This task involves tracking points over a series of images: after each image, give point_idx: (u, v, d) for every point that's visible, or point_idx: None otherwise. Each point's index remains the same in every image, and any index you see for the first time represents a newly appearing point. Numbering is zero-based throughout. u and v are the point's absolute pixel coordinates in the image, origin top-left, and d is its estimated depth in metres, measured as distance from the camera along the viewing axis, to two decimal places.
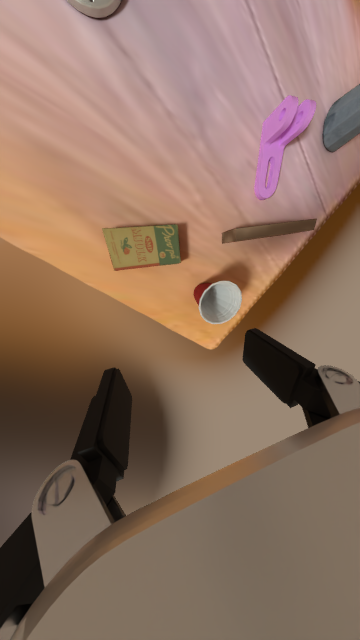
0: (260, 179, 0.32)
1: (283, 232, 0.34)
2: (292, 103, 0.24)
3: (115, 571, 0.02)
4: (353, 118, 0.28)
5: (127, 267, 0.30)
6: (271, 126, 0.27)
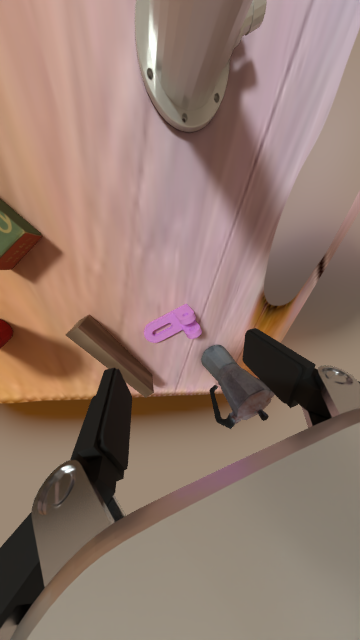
0: (153, 324, 0.32)
1: None
2: (189, 318, 0.27)
3: (115, 571, 0.02)
4: (212, 364, 0.37)
5: None
6: (181, 311, 0.31)
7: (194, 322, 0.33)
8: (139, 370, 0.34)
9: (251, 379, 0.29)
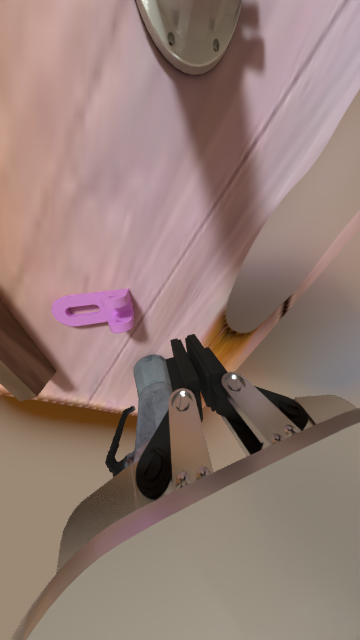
0: (70, 298, 0.23)
1: None
2: (112, 301, 0.19)
3: (115, 571, 0.02)
4: (141, 377, 0.28)
5: None
6: (114, 293, 0.23)
7: (129, 314, 0.25)
8: (27, 358, 0.23)
9: None
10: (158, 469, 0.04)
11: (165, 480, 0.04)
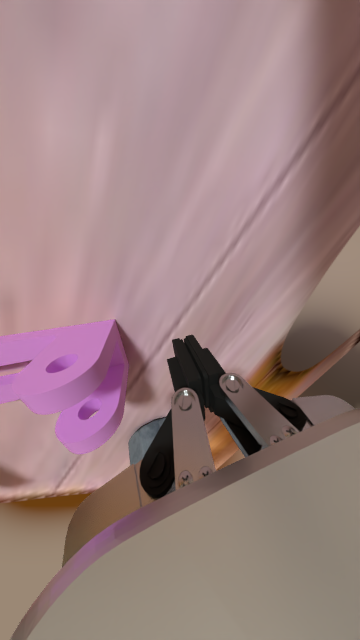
0: None
1: None
2: (47, 395, 0.06)
3: (115, 571, 0.02)
4: None
5: None
6: (76, 340, 0.09)
7: (116, 380, 0.11)
8: None
9: None
10: (162, 468, 0.04)
11: (169, 479, 0.04)
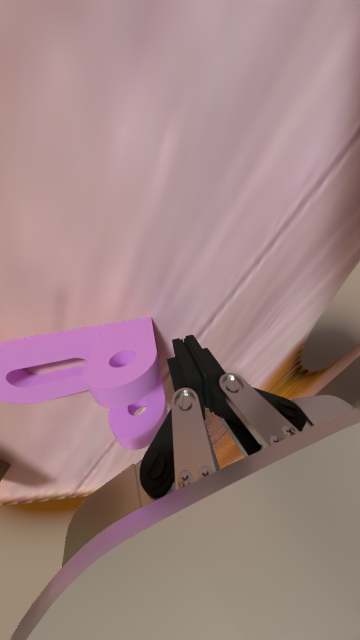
0: (14, 352, 0.09)
1: None
2: (122, 388, 0.06)
3: (115, 571, 0.02)
4: None
5: None
6: (123, 336, 0.09)
7: None
8: None
9: None
10: (162, 468, 0.04)
11: (169, 479, 0.04)
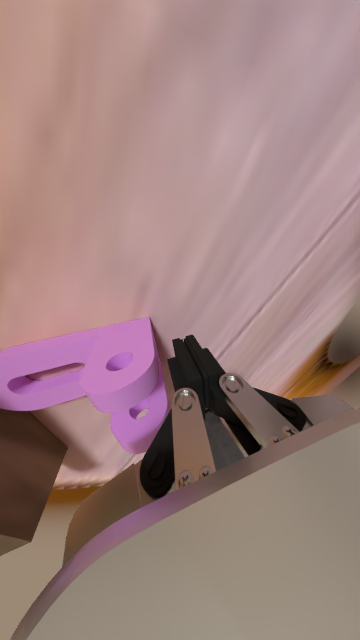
0: (13, 359, 0.09)
1: None
2: (119, 393, 0.06)
3: (115, 571, 0.02)
4: (219, 460, 0.16)
5: None
6: (121, 338, 0.09)
7: None
8: (11, 458, 0.11)
9: None
10: (162, 468, 0.04)
11: (169, 479, 0.04)
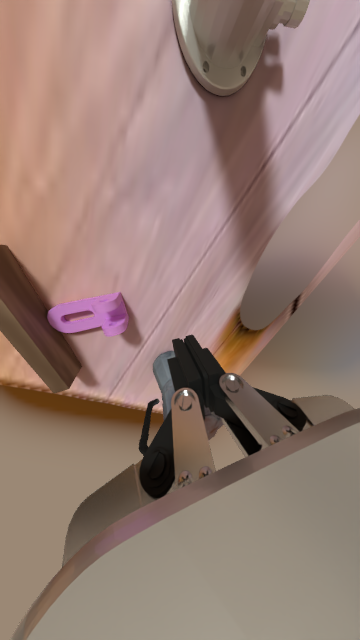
0: (63, 306, 0.23)
1: (19, 348, 0.20)
2: (102, 305, 0.20)
3: (115, 571, 0.02)
4: (163, 372, 0.30)
5: None
6: (106, 297, 0.23)
7: (122, 317, 0.25)
8: (60, 352, 0.25)
9: None
10: (162, 468, 0.04)
11: (169, 480, 0.04)
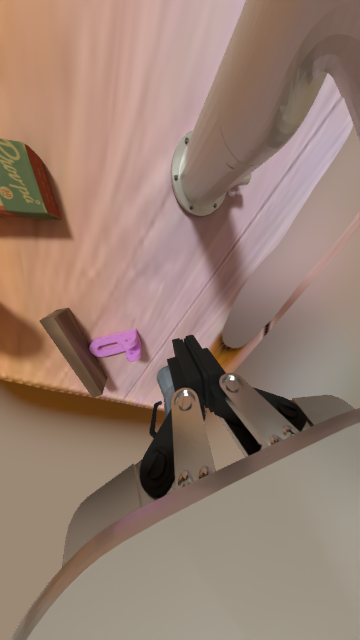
0: (100, 341, 0.35)
1: (76, 371, 0.32)
2: (128, 344, 0.32)
3: (115, 571, 0.02)
4: (164, 381, 0.42)
5: None
6: (128, 335, 0.35)
7: (138, 347, 0.37)
8: (96, 370, 0.37)
9: None
10: (162, 468, 0.04)
11: (169, 479, 0.04)
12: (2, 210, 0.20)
